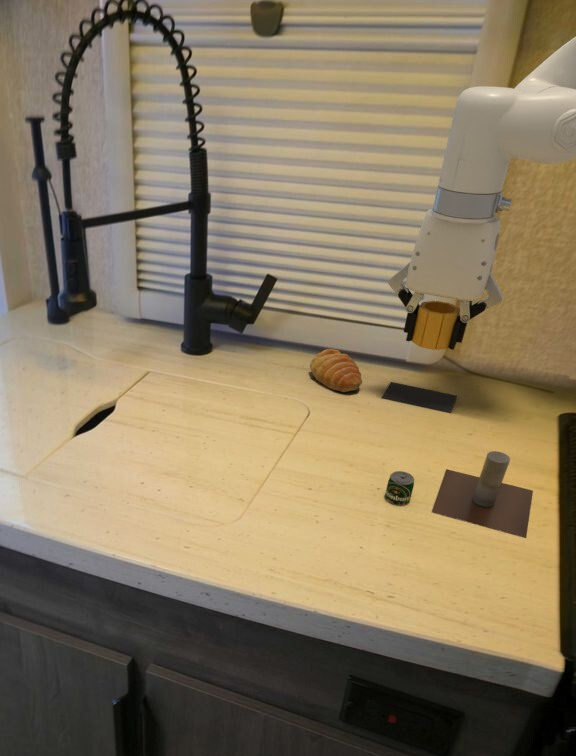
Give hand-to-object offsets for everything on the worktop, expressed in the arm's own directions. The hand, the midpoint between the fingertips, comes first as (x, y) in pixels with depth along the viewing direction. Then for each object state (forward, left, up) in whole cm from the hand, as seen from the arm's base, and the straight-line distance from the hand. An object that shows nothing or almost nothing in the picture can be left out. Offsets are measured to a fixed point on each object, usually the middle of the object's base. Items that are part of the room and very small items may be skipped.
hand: (431, 340), depth 94 cm
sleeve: (0, 0, 0) cm, 0 cm away
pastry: (+13, -1, -10) cm, 16 cm away
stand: (-12, +25, -9) cm, 29 cm away
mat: (0, 0, -9) cm, 9 cm away
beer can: (-3, +29, -10) cm, 31 cm away
